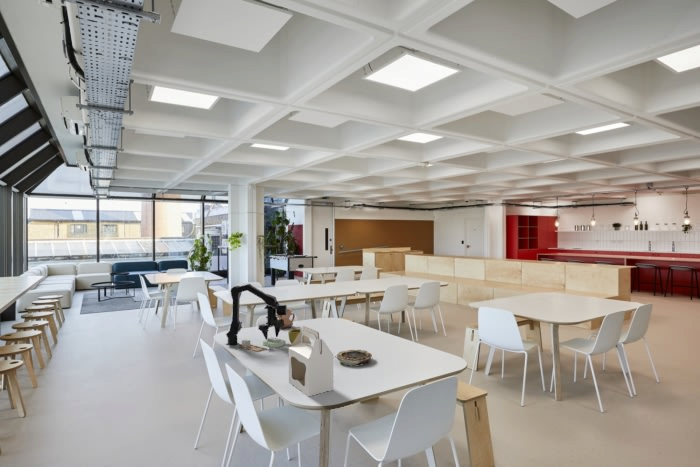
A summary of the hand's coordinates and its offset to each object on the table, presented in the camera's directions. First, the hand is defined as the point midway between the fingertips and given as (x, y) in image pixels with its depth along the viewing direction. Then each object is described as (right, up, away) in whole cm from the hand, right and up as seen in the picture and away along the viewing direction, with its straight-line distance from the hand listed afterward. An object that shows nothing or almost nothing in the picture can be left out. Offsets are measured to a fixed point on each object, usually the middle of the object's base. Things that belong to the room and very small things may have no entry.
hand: (271, 338), depth 266 cm
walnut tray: (-11, -4, -9) cm, 15 cm away
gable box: (+34, -4, -74) cm, 82 cm away
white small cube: (0, -4, 0) cm, 4 cm away
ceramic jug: (0, -5, +52) cm, 52 cm away
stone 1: (-16, -4, -6) cm, 17 cm away
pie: (+55, -5, -36) cm, 66 cm away
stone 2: (+4, -4, -3) cm, 6 cm away
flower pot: (+17, -5, +2) cm, 17 cm away
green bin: (+2, -5, -2) cm, 5 cm away
